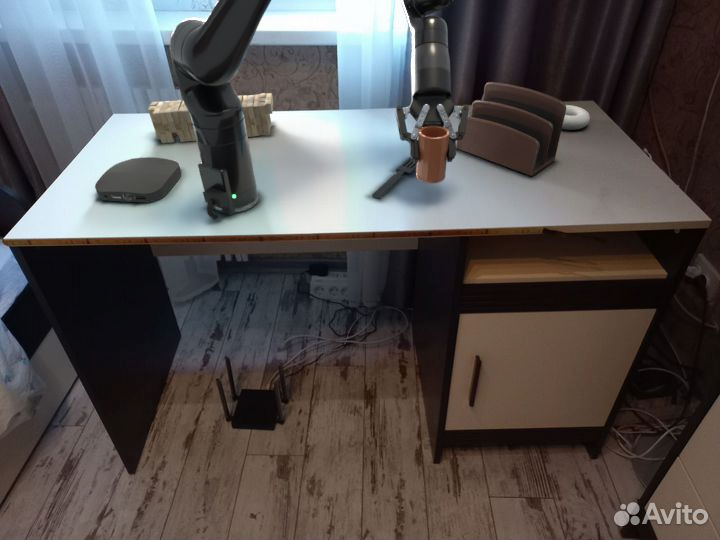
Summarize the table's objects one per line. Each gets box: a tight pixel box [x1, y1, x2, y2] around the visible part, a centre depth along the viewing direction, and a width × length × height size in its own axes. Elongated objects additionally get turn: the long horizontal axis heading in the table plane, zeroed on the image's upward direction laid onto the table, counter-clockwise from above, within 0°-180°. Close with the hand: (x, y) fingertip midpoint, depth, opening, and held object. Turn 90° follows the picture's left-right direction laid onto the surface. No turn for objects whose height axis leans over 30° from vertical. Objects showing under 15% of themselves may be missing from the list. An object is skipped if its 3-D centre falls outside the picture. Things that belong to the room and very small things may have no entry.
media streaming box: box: [94, 156, 182, 203], centre depth 106 cm, size 15×15×3 cm
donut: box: [562, 104, 591, 131], centre depth 125 cm, size 10×4×10 cm
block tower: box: [147, 92, 274, 144], centre depth 124 cm, size 8×8×29 cm
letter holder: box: [456, 81, 567, 177], centre depth 110 cm, size 10×20×14 cm, turn 45°
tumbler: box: [415, 126, 449, 184], centre depth 96 cm, size 6×6×9 cm
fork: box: [371, 156, 417, 200], centre depth 107 cm, size 18×3×1 cm, turn 149°
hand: (433, 160), depth 95 cm, fingers closed on tumbler, 5 cm apart
